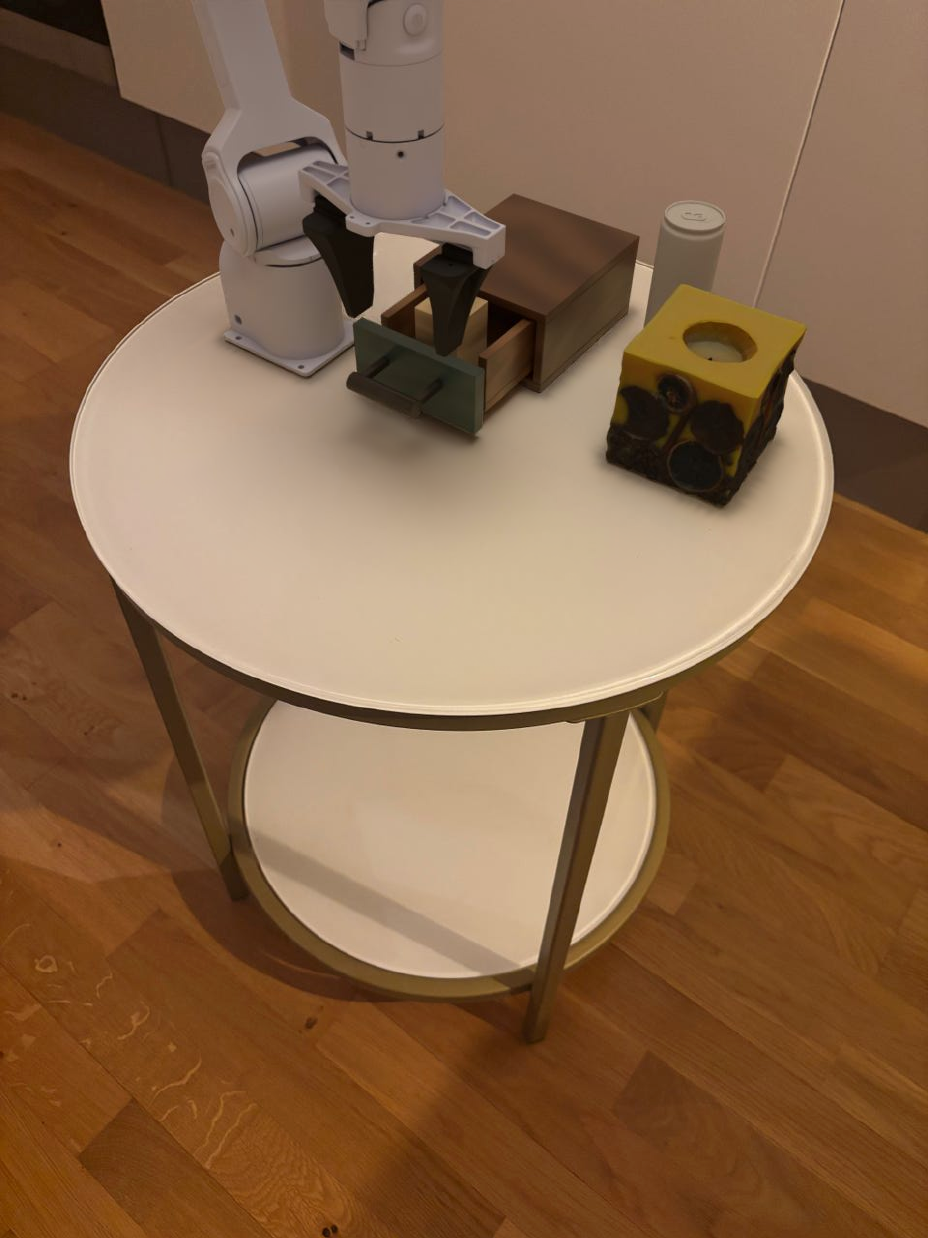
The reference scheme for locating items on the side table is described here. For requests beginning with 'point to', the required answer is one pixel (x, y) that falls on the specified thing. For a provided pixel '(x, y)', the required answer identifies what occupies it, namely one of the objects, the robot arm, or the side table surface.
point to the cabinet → (557, 279)
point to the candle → (702, 393)
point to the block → (473, 334)
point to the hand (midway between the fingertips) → (403, 329)
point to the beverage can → (685, 251)
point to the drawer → (439, 365)
